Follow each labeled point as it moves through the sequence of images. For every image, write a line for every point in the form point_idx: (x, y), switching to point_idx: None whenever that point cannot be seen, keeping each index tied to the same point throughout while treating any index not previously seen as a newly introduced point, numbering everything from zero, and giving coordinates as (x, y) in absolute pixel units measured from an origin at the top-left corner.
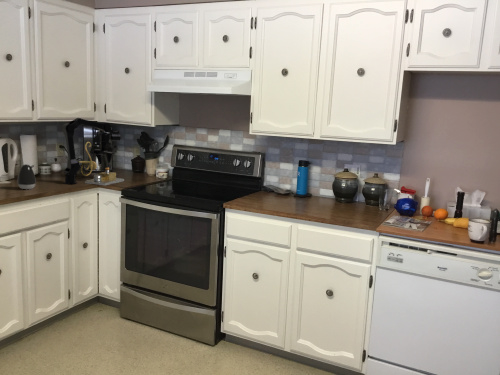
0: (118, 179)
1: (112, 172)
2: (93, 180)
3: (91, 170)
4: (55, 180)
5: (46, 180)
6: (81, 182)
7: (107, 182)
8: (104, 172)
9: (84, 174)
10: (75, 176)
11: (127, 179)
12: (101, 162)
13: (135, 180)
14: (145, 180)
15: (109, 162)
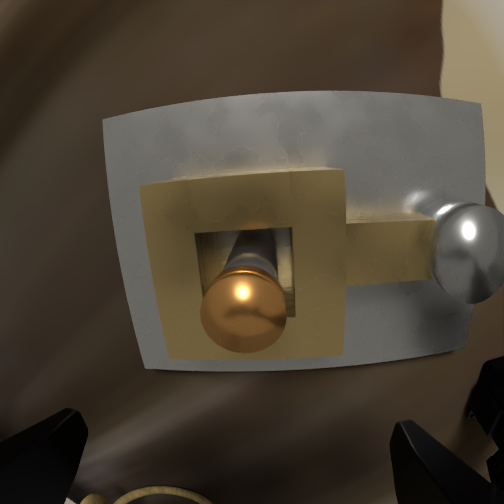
0: (177, 131)
1: (157, 245)
2: (419, 308)
3: (122, 501)
4: None
5: None
6: (442, 372)
7: (436, 102)
8: None
9: (198, 499)
10: (501, 410)
11: (37, 168)
12: (424, 441)
13: (37, 77)
14: (6, 34)
15: (75, 415)
